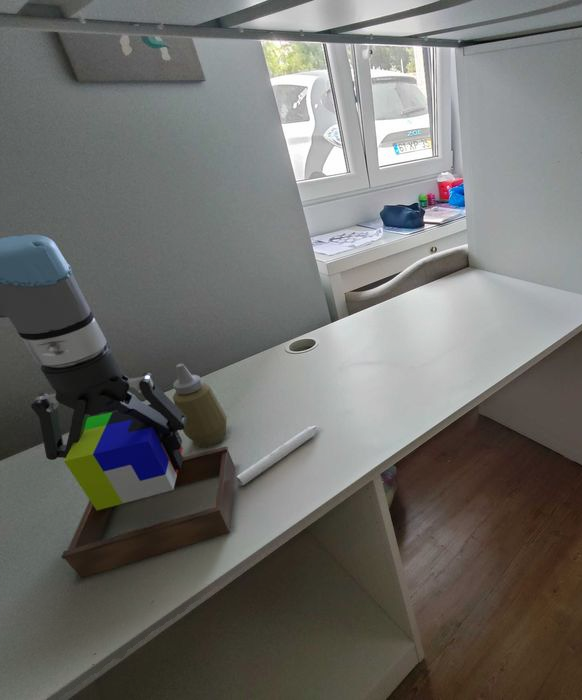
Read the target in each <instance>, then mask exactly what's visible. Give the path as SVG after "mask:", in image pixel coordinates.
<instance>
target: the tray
mask: <svg viewBox="0 0 582 700" xmlns="http://www.w3.org/2000/svg"><path fill="white" fill-rule="evenodd" d="M216 476H219V477H218V484H217V493H216V499H215V500H216V501H215V506H214V507H211V508H207V509H203V510H200V511H196V512H193V513H190V514H189V513H188V514H186V515H183V516H180V517H176V518H173V519H169V520H166V521H163V522H159V523H156V524H152V525H148V526H145V527H142V528H139V529H135V530H132V531H128V532H125V533H121V534H118V535H114V536H112V537H107V538H104V539H102V537H103V534H104V532H105V529H106V527H107V523H108V521H109V518H110V516H111V513H112V510H113V507H114V506H112V507H108V508H105V509H101V510H96V509H95V507H94V506H93V504H92V503H91V501H90V500H89V501H88V503H87V505H86V507H85V509H84V512H83V515H82V516H81V519H80V521H79V523H78V526H77V527H76V530H75V532H74V535H73V537H72V539H71V542H70V544H69V547H68V548H67V549H66V550H64V551H63V552H62V555H61V557H60V558H62V560H65V561H66V562H67V563H68V565H69V566H70V568H72V570H73V571H74V572H75V573H76V574H77V576H78V577H79V578H80V579H83V578H87V577H91V576H94V575H96V574H99V573H103V572H106V571H109V570H112V569H115V568H116V569H117V568H119V567H123V566H126V565H129V564H133V563H134V562H135V563H136V562H138V561H141V560H144V559H148V558H152V557H154V556H158V555H161V554H164V553H168V552H170V551H174V550H176V549H181V548H183V547H187V546H190V545H193V544H196V543H197V544H198V543H200V542H203V541H206V540H210V539H213V538H216V537H219V536H221V535H226V534H229V533H230V532H231V526H232V511H233V502H234V501H233V500H234V490H235V489H234V488H235V479H236V466H235V464H234V462H233V458H232V456H231V454H230V452H229V447H228V446H227V445H225V446H221V447H217V448H214V449H210V450H206V451H202V452H198V453H194V454H190V455H186V456H183V461H182V465H181V469H178V472H177V476H176V481H175V485H174V488H176V487H180V486H183V485H187V484H191V483H194V482H198V481H201V480H204V479H209V478H212V477H216Z"/></svg>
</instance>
